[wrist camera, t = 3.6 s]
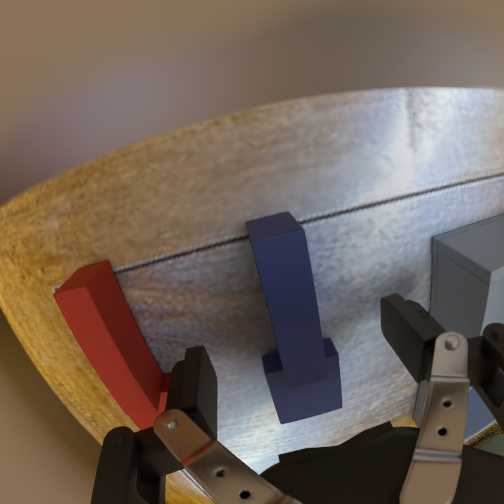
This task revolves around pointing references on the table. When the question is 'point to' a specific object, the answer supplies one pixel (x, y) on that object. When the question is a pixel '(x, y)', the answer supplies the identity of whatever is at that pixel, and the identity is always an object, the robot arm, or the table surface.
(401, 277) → the table surface
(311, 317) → the blue bar
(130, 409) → the red stepped block
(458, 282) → the blue bin
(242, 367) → the table surface
